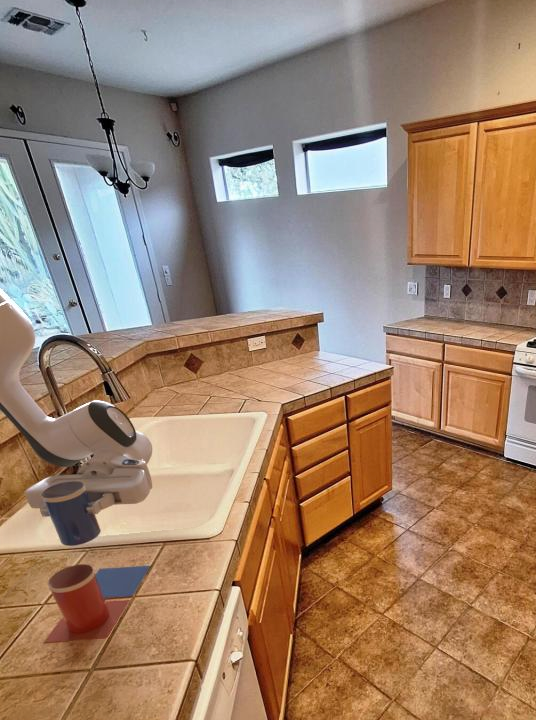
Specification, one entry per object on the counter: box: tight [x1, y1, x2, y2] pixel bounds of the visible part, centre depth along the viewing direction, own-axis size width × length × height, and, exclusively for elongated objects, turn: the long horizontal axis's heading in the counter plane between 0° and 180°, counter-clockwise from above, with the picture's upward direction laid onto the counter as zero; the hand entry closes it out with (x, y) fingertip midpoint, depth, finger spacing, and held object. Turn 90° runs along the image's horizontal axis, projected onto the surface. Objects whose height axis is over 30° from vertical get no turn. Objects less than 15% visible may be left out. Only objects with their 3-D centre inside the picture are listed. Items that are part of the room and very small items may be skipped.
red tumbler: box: [47, 563, 110, 634], centre depth 74 cm, size 6×6×10 cm
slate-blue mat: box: [95, 565, 152, 599], centre depth 85 cm, size 10×9×1 cm
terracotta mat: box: [42, 599, 131, 644], centre depth 76 cm, size 10×9×1 cm
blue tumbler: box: [41, 481, 102, 547], centre depth 78 cm, size 6×6×10 cm
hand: (68, 512), depth 77 cm, fingers closed on blue tumbler, 6 cm apart
